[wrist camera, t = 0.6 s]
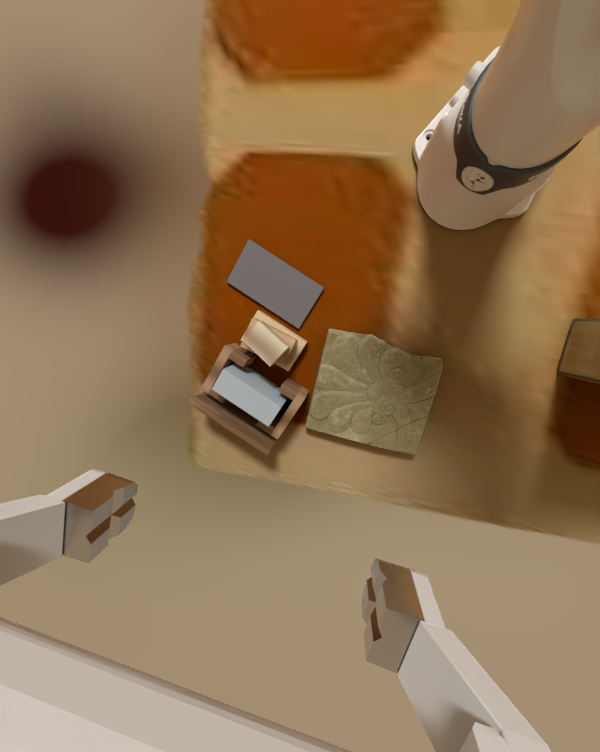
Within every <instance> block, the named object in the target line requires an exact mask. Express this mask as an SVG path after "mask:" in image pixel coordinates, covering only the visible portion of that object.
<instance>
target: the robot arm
mask: <svg viewBox="0 0 600 752" xmlns="http://www.w3.org/2000/svg"><path fill="white" fill-rule="evenodd" d="M599 125H600V0H522V1H521V3H520V6H519V8H518V11H517V13H516V15H515V17H514V20H513V22H512V24H511V26H510V28H509V30H508V32H507V34H506V36H505V38H504V40H503V42H502V44H501V46H499V47H497V48H496V49H494V50H493V52H492V53H491V54H490V55H489V56H488V57H487V58H486V59H485V61H484V62H483V63H482V62H481V61H477V62H476V64H475V65H474V66H473V67H472V69H471V70H470V72H469V73H468V74H467V76H466V78H465V79H464V81H463V86H462V87H461V88H460V89H459V90H458V91H457V92H456V94H455V95H454V96H453V97H452V98H451V100H450V101H449V102H448V103H447V104H446V105H445V107H444V108H443V109H442V110H441V111H440V112H439V113H438V115H437V116H436V117H435V118H434V119H433V120H432V121H431V123H430V124H429V125H428V126H427V127H426V128H425V129H424V131H423V132H422V133H421V134H420V135H419V136H418V138H417V139H416V141H415V142H414V144H413V148H412V150H413V155H414V158H415V161H416V164H417V167H418V178H417V189H418V195H419V199H420V202H421V204H422V207H423V208H424V210H425V212H426V213H427V214H428V215H429V217H430V218H431V219H433V220H434V221H435V222H437V223H438V224H440V225H442V226H444V227H447V228H450V229H455V230H468V229H474V228H478V227H481V226H483V225H485V224H487V223H490V222H492V221H494V220H496V219H500V218H513V217H517V216H520V215H521V214H523V213H524V212H525V211H526V210H527V209H528V207H529V205H530V203H531V201H532V199H533V198H534V196H535V194H536V192H537V191H538V190H539V189H541V188H542V187H543V186H544V185H545V184H546V183H547V182H548V181H549V180H550V178H549V175H550V174H551V172H552V170H553V169H554V167H555V165H557V164H558V163H559V162H560V161H561V160H562V159H564V158H565V157H566V156H567V155H568V154H569V153H570V152H571V151H572V150H573V149H574V148H575V147H576V146H577V145H578V144H579V142H580V141H581V140H582V139H583V137H585V136H586V135H587V134H589V133H590V132H591V131H592V130H594V129H595V128H596V127H598V126H599ZM426 137H430V139H429V140H427V139H426ZM137 486H138V485H137V484H136V483H135V482H133V481H130V480H128V479H125V478H122V477H119V476H116V475H113V474H110V473H106V472H104V471H101V470H98V469H93V470H90V471H88V472H86V473H85V474H83V475H81V476H79V477H78V478H76V479H74V480H72V481H70V482H69V483H67V484H65V485H64V486H62V487H60V488H58V489H57V490H55V491H53V492H52V493H50V494H48V495H46V496H45V495H37V496H32V497H28V498H23V499H19V500H14V501H10V502H6V503H1V504H0V585H2V584H5V583H7V582H9V581H11V580H13V579H15V578H17V577H19V576H22V575H24V574H26V573H28V572H30V571H32V570H35V569H37V568H39V567H41V566H43V565H45V564H47V563H49V562H52V561H54V560H56V559H58V558H60V557H62V555H64V556H67V557H71V558H74V559H77V560H80V561H83V562H87V563H90V562H91V561H92V560H93V559H94V558H95V557H96V556H97V555H98V554H99V553H100V552H101V551H102V550H103V549H104V548H105V547H106V546H107V545H108V540H109V538H112V537H114V536H117V535H119V534H120V533H121V532H122V531H123V530H124V529H125V528H126V527H127V525H128V524H129V522H130V521H131V519H132V517H133V514H134V511H135V503H134V501H133V499H132V497H133V496H134V495H136V494H137ZM371 574H372V577H371V578H369V579H368V580H367V581H366V584H365V587H364V591H363V598H362V614H363V618H364V620H365V622H366V623H367V626H366V629H365V632H364V639H365V651H366V661H368V662H370V663H373V664H376V665H378V666H381V667H383V668H386V669H388V670H391V671H394V672H396V673H398V677H399V679H400V681H401V683H402V685H403V687H404V689H405V691H406V693H407V695H408V697H409V699H410V701H411V703H412V705H413V707H414V709H415V711H416V713H417V715H418V717H419V719H420V721H421V723H422V725H423V727H424V729H425V731H426V733H427V735H428V737H429V739H430V741H431V743H432V745H433V747H434V749H435V751H436V752H551V751H550V749H549V747H548V746H547V744H546V743H545V742H544V741H543V740H542V738H541V737H540V736H539V735H538V734H537V732H536V731H535V730H534V729H533V728H532V726H530V724H529V723H528V722H527V720H526V719H525V718H524V717H523V716H522V714H521V713H520V712H519V711H518V710H517V709H516V707H515V706H514V705H513V704H512V703H511V701H510V700H509V699H508V698H507V697H506V695H505V694H504V693H503V692H502V691H501V690H500V688H499V687H498V686H497V685H496V683H495V682H494V681H493V680H492V679H491V677H490V676H489V675H488V674H487V673H486V671H485V670H484V669H483V668H482V667H481V666H480V664H479V663H478V662H477V661H476V660H475V658H474V657H473V656H472V655H471V654H470V653H469V651H468V650H467V649H466V648H465V646H464V645H463V644H462V643H461V642H460V640H459V639H458V638H457V637H456V636H455V635H454V633H453V632H452V631H450V630H447V629H446V627H445V624H444V622H443V619H442V616H441V613H440V611H439V608H438V605H437V602H436V600H435V597H434V594H433V591H432V588H431V586H430V583H429V580H428V577H427V575H426V574H425V573H423V572H420V571H416V570H413V569H410V568H405V567H402V566H398V565H395V564H392V563H389V562H386V561H382V560H379V559H375V560H374V561H373V564H372V567H371ZM0 752H350V751H348V750H345V749H343V748H340V747H338V746H335V745H332V744H330V743H327V742H324V741H322V740H319V739H317V738H314V737H311V736H309V735H306V734H304V733H301V732H298V731H296V730H293V729H290V728H288V727H285V726H283V725H280V724H277V723H275V722H272V721H269V720H267V719H264V718H262V717H259V716H256V715H254V714H251V713H249V712H246V711H243V710H241V709H238V708H236V707H233V706H230V705H228V704H225V703H222V702H220V701H217V700H214V699H212V698H209V697H206V696H204V695H202V694H199V693H196V692H194V691H191V690H188V689H186V688H183V687H181V686H178V685H175V684H173V683H170V682H167V681H165V680H163V679H160V678H157V677H155V676H152V675H149V674H146V673H144V672H142V671H139V670H137V669H134V668H131V667H129V666H126V665H124V664H121V663H118V662H116V661H113V660H111V659H108V658H105V657H103V656H100V655H98V654H95V653H92V652H90V651H87V650H84V649H82V648H79V647H77V646H74V645H72V644H69V643H66V642H64V641H61V640H59V639H56V638H53V637H51V636H48V635H45V634H43V633H40V632H38V631H35V630H33V629H30V628H27V627H24V626H22V625H20V624H17V623H14V622H12V621H9V620H6V619H4V618H1V617H0Z"/></svg>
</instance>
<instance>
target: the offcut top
mask: <svg viewBox="0 0 600 752" xmlns="http://www.w3.org/2000/svg"><path fill="white" fill-rule="evenodd" d="M243 341H244V342H245V343H246V344H247V345H248V346H249V347H250V348H251V349H252V350H253V351H254V352H255V353H256V354H257V355H258V356H259V357H260V358H261V359H262V360H264V361H265V362H266V363H267V364H268V365H269V366H272V365H273V364H275V362H276V361H277V360H278V359H279V358H280V357H281V356H282V355H283V354H284V353H285V352H286V351H287V350H288V348H289V347H290V346H288V345H287V344H286V343H285V342H284V341H283V340H282V339H281V338H280V337H279V336H278V335H277V334H276V333H275V332H274V331H273V330H272V329H271V328H270V327H269V326H268V325H267V324H266V323H265V322H264V321H258V322H257V324H256V325H255V326H254V327H253V328H252V329H251V330H250V332H249V333H248V334H247V335H246V336H245V337H244V339H243Z"/></svg>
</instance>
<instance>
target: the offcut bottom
mask: <svg viewBox="0 0 600 752" xmlns="http://www.w3.org/2000/svg"><path fill="white" fill-rule="evenodd" d="M253 319H258V320H260V321H264V322H265V323H266V324H268V325H270V326H272V327H274V328H276V329H278V330H280V331H282V332H284V333H286V334H288V335H290V336H292V337H294V338H296V339H298V341H297V343H296V345H295V347H294V349H293V351H292V353H291V355H290V357H289V360H288V362H287V364H286V366H284V367H283V368H284V369H285V370H287V371H289V370H290V369H291V367H292V366H293V364H294V363H295V361H296V360H297V358H298V356H299V355H300V353H301V352H302V350H303V349H304V347H305V346H306V344H307V341H306V340H304V339H303V338H301V337H300V336H298V335H297V334H295V333H294V332H292V331H291V330H289V329H288V328H286V327H285V326H283V325H282V324H280V323H279V322H277V321H276V320H274V319H273V318H271V317H270V316H268V315H267V314H265V313H263V312H262V311H259V310H257V312H256V314H255V316H254V317H253ZM248 327H249V326H248ZM247 329H248V328H247ZM246 331H247V330H246ZM246 331H245V333H244V335H243V337H242V338H241V341H243V338H244V336H245V334H246Z"/></svg>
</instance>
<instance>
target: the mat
mask: <svg viewBox="0 0 600 752" xmlns="http://www.w3.org/2000/svg"><path fill="white" fill-rule="evenodd" d="M227 282H228V283H229V284H231V285H232V286H234V287H235V288H237V289H239V290H240V291H242V292H243V293H245V294H246V295H248V296H249V297H251V298H252V299H254V300H255V301H257V302H258V303H260V304H262V305H263V306H265V307H266V308H268V309H269V310H271V311H272V312H274V313H275V314H277V315H278V316H280V317H281V318H283V319H284V320H286V321H288V322H289V323H291V324H292V325H294V326H295V327H297V328H298V329H299V328H300V327H301V325H302V323H303V322H304V320H305V318H306V317H307V315H308V314H309V312H310V310H311V309H312V307H313V305H314V304H315V302H316V301H317V299H318V297H319V296H320V294H321V293H322V291H323V289H324V287H322V286H321V285H319V284H318V283H316V282H315V281H313V280H311V279H310V278H308V277H307V276H305V275H304V274H302V273H301V272H299V271H298V270H296V269H295V268H293V267H291V266H290V265H288V264H287V263H285V262H284V261H282V260H281V259H279V258H278V257H276V256H274V255H273V254H271V253H270V252H268V251H267V250H265V249H264V248H262V247H261V246H259V245H257V244H256V243H254V242H253V241H251V240H250V239H249V240H248V242H247V244H246V246H245V248H244V249H243V251H242V253H241V255H240V257H239V259H238V261H237V263H236V265H235V267H234V269H233V271H232V273H231V274H230V276H229V278H228V280H227Z"/></svg>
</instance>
